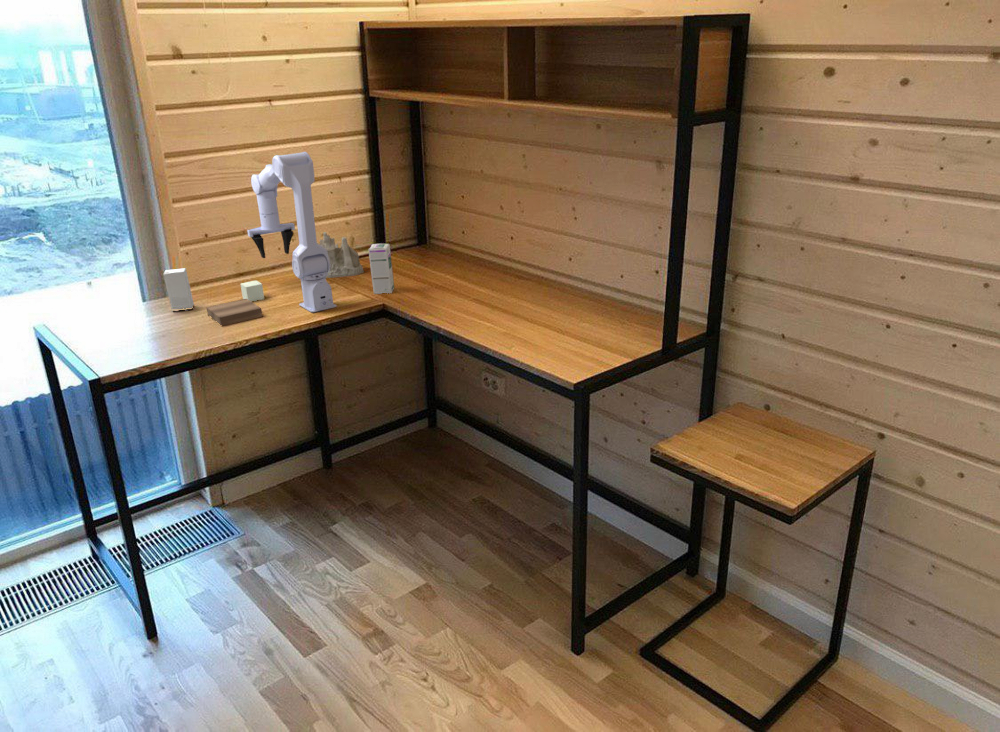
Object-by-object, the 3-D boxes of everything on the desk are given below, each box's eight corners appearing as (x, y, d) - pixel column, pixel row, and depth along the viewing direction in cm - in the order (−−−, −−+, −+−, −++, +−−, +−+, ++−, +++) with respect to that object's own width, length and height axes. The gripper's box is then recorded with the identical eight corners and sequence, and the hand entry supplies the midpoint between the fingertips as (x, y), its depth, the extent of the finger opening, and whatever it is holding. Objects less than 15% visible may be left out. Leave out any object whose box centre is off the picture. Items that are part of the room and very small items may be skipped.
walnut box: (262, 318, 230) (261, 308, 229) (221, 327, 224) (219, 317, 222) (248, 308, 239) (246, 298, 238) (208, 316, 233) (206, 307, 232)
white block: (264, 299, 245) (262, 283, 243) (248, 302, 242) (246, 287, 240) (258, 295, 249) (256, 280, 247) (243, 299, 246) (240, 283, 244)
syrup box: (392, 293, 245) (387, 247, 239) (372, 294, 245) (368, 248, 240) (394, 288, 250) (390, 242, 245) (375, 288, 251) (371, 243, 245)
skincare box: (194, 305, 241) (186, 267, 237) (193, 310, 237) (185, 271, 233) (173, 308, 240) (164, 269, 235) (171, 312, 236) (162, 273, 231)
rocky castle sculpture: (362, 275, 264) (355, 230, 259) (312, 280, 264) (305, 235, 259) (367, 265, 279) (361, 223, 274) (320, 270, 279) (313, 227, 274)
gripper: (287, 207, 255) (292, 249, 260) (241, 214, 248) (248, 256, 253) (294, 211, 249) (300, 253, 255) (248, 218, 242) (255, 261, 248)
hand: (275, 255), depth 253 cm, fingers open, 7 cm apart
